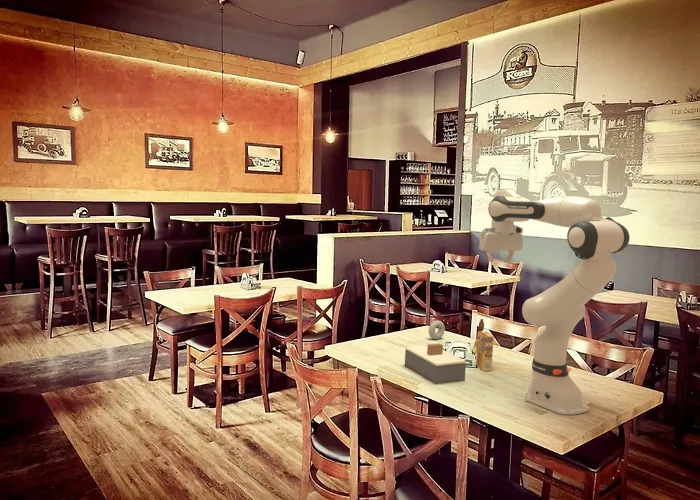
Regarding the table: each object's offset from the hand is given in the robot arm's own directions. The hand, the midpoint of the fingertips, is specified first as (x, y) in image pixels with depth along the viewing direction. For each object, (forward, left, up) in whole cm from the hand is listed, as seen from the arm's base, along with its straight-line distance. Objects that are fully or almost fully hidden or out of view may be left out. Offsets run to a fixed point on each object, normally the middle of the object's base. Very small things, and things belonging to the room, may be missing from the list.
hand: (499, 261), depth 224 cm
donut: (+52, -6, -48) cm, 71 cm away
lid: (+7, +25, -40) cm, 48 cm away
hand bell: (+27, -14, -48) cm, 57 cm away
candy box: (+6, 0, -48) cm, 48 cm away
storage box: (+7, +25, -48) cm, 54 cm away
